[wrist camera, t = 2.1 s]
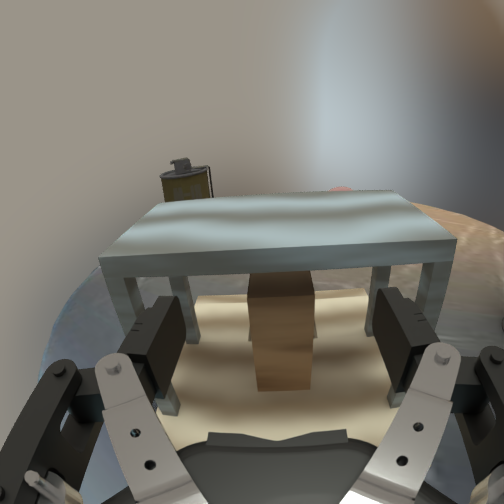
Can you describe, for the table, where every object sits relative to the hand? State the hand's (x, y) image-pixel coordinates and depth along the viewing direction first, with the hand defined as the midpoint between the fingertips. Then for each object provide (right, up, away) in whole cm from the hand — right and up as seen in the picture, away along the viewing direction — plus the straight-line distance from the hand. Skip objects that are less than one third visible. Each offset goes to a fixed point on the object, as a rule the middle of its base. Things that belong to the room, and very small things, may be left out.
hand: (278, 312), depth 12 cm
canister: (-14, +4, +57) cm, 59 cm away
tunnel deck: (+2, -12, +18) cm, 22 cm away
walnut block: (+2, -10, +17) cm, 20 cm away
